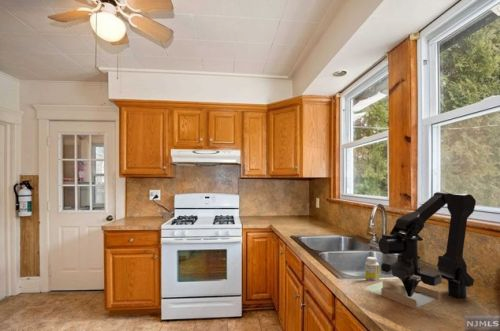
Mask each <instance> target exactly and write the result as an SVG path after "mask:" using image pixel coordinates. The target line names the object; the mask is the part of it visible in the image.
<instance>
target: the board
mask: <svg viewBox="0 0 500 331" xmlns="http://www.w3.org/2000/svg"><path fill="white" fill-rule="evenodd" d="M363 289H364V290H367V291H369V292H372V293H375V294H377V295H379V296H382V297H384V298H386V299H389V300H392V301H395V302H397V303H399V304H402V305H405V306H407V307H410V308H412V309H414V310H417V309H418V308H420V307H422V306H424V305H427V304H428V303H430V302H432V301H434V300H436V299H439V290H437V289H434V288H430V287H427V286H424V285H422V284H419V283H418V285H417V286H416V289H415V291H414V292H417V293H413V295H412V297H409V296H403V295H400V294H398V293H395V292H392V291H390V290H387V289H384V288H383V283H382V281H380V282H377V283H374V284H373V283H372V284H371V285H368V286H364V287H363Z"/></svg>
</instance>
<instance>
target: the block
mask: <svg viewBox="0 0 500 331" xmlns="http://www.w3.org/2000/svg"><path fill="white" fill-rule="evenodd" d="M381 282H382V283H383V288H384V289H387V290H390V291H392V292H395V293H398V294H400V295H403V296H408V294H407V292H406V289H405V287H404V285H403V283H402V281H398V280H394V279H391V278H388V279H385V280H383V281H381Z"/></svg>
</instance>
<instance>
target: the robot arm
mask: <svg viewBox="0 0 500 331" xmlns="http://www.w3.org/2000/svg"><path fill="white" fill-rule="evenodd" d="M476 203H477V202H476V198H475V197H474V196H473V195H471V194H470V193H469V194H468V193H449V192H448V191H447V192H446V191H436V192H434V193H433V194H432V196H431V197H429V199H428V200H426V201H425V202H424V203H422V204H421V205H420V206H419V207H417V208H416V209H415V210H414V211H412V212H410V213H406V214H404V215H402V216H400V217H398V219H396V221H395V224H394V226H393V228H392V230H391V231H390V232H389V234H382V235H381V236H382V237H381V238H380V239H379V242H378V248H379V249H378V250H379V251H380V252H381V254H383V255H397V254H398V255H397V259H396V261H395V262H394V261H391V260H389V261H385V262H382V263H381V265H380V270H381V271H382V272H385V273H390V272H391V274H392V276H393V277H396V278H398V279H399V280H400V282H401V283H403V285H404V287H405V289H406V292H407V294H408V296H409V297H412V295H414V294H415V293H414V292H416V291H415V289H416V286H417V285H418V284H419V283H420V282H422V283H423V284H425V285H427V286H432V287H435V286H437V285H441V284H442V283H443V282H442V281H443V279H444V280H447V294H448V296H449V297H452V298H454V299H467V298H468V291H467V290H468V289H467V288H470V287H473V286H474V282H475V279H474V278H473V277H472V276H471V275H470V274H469V273H468V272H467V266H468V265H467V263H466V261H465V259H464V257H463V254H464V249H465V248H464V246H465V238H466V232H467V222H468V218H469V217H470V216H471V215H473V213H474V211H475V207H476ZM445 205H446V206H447V210H448V213H449V214H450V220H449V229H448V233H447V234H448V236H447V243H446V250H445V253H444V254H443V255H438V257H437V258H438V259H437V260H438V261H437V264H436V266H437V270H438V272H439V273H436V272H431V271H427V272H420V271H421V267H420V266H419V260H420V259H421V257H420V255H419V250H418V248H419V247H418V242H421V241H423V240H424V238H422V237H421V236H420V235H419V234H420V233H421V231H422V230H423V229H424V228H425V223H426V222H427V221H428V220H429V219H430V218H432V217H433V216H434V215H435V214H436V213H438V212H439V211H440V210H441V209H442V208H443V207H444V206H445Z"/></svg>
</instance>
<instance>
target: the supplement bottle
mask: <svg viewBox="0 0 500 331" xmlns="http://www.w3.org/2000/svg"><path fill="white" fill-rule="evenodd" d="M364 265H365V266H364V267H365V268H364V269H365V281H366V282H368V281H375V282H377V281H379V280H380V264H379V262H378V258H377V257H373V256H367V258H366V261H365V264H364Z"/></svg>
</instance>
